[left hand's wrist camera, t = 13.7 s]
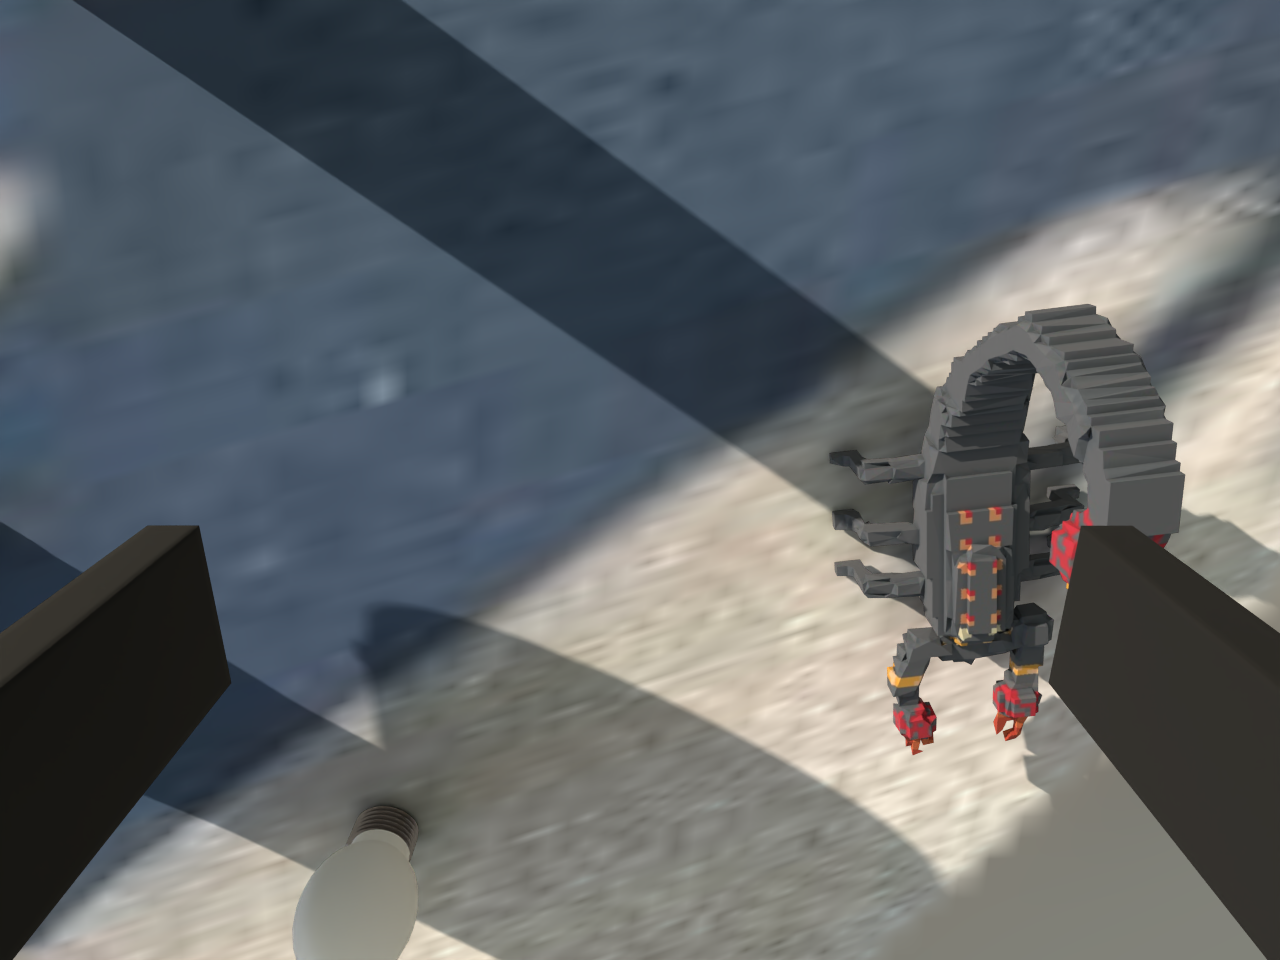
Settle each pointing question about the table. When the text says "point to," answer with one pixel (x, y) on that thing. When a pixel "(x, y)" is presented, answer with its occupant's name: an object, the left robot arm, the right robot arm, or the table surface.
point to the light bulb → (362, 893)
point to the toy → (1014, 498)
